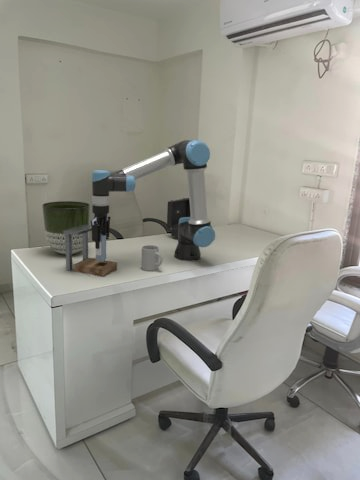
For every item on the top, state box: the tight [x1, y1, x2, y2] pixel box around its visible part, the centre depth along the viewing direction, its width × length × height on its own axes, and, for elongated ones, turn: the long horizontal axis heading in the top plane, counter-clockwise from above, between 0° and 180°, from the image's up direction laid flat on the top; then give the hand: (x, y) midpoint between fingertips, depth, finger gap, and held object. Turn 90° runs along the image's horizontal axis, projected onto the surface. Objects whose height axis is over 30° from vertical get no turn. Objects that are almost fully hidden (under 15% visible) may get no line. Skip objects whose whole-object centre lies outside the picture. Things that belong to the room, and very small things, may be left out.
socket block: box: [73, 257, 118, 278], centre depth 177 cm, size 16×12×4 cm
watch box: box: [166, 197, 213, 238], centre depth 254 cm, size 26×28×24 cm
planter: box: [41, 200, 91, 255], centre depth 200 cm, size 24×24×27 cm
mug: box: [140, 244, 163, 272], centre depth 182 cm, size 12×8×11 cm
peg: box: [95, 234, 107, 261], centre depth 173 cm, size 4×4×12 cm
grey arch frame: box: [63, 224, 92, 272], centre depth 177 cm, size 8×16×20 cm, turn 159°
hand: (101, 253), depth 174 cm, fingers closed on peg, 3 cm apart
